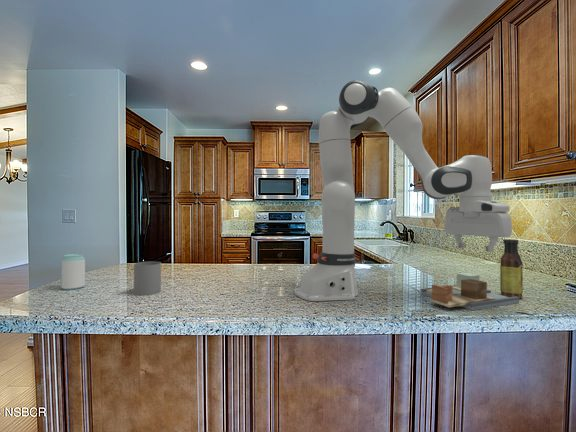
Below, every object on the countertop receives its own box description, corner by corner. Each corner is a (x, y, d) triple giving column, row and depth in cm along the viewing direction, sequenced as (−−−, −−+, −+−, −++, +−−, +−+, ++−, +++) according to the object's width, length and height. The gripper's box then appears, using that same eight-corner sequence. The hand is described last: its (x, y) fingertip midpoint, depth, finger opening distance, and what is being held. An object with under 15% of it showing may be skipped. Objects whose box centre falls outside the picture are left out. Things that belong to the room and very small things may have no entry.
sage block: (469, 290, 105) (469, 276, 105) (456, 287, 109) (456, 273, 109) (479, 289, 106) (479, 275, 106) (466, 286, 111) (466, 272, 111)
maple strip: (448, 307, 87) (449, 289, 87) (429, 300, 93) (429, 284, 93) (495, 300, 95) (495, 284, 95) (473, 295, 101) (474, 279, 101)
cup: (128, 293, 102) (128, 264, 102) (148, 288, 109) (148, 260, 109) (147, 296, 99) (147, 266, 98) (165, 290, 106) (166, 262, 106)
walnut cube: (475, 299, 93) (476, 283, 93) (460, 295, 97) (461, 280, 97) (486, 298, 95) (486, 282, 95) (471, 294, 99) (471, 278, 99)
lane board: (471, 310, 88) (471, 304, 88) (420, 294, 106) (420, 288, 106) (519, 302, 97) (519, 297, 97) (464, 288, 114) (464, 284, 114)
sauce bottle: (526, 300, 100) (527, 240, 100) (505, 298, 101) (506, 239, 101) (515, 295, 106) (517, 238, 106) (496, 293, 108) (497, 238, 107)
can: (82, 284, 113) (82, 252, 113) (87, 288, 108) (87, 254, 108) (59, 287, 108) (59, 254, 108) (63, 291, 103) (63, 256, 103)
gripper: (440, 207, 104) (439, 246, 104) (501, 205, 85) (501, 254, 85) (453, 207, 106) (452, 246, 106) (515, 205, 87) (515, 253, 88)
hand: (474, 250), depth 96 cm, fingers open, 8 cm apart
